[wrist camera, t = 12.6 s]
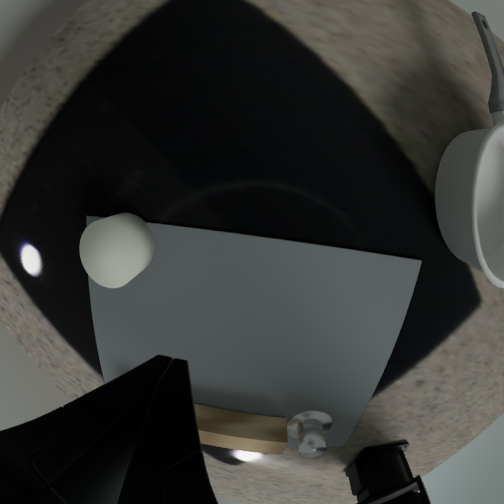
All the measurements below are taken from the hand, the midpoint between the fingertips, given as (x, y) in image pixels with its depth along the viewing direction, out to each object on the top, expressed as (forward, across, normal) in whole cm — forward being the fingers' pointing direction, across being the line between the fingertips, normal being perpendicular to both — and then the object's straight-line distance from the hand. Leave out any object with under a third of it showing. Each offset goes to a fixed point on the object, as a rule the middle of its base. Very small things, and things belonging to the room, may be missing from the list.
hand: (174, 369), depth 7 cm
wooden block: (+12, 0, +15) cm, 19 cm away
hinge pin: (+12, -9, +16) cm, 22 cm away
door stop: (+12, +7, 0) cm, 14 cm away
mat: (+12, -2, +9) cm, 15 cm away
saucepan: (+12, -18, -12) cm, 25 cm away
